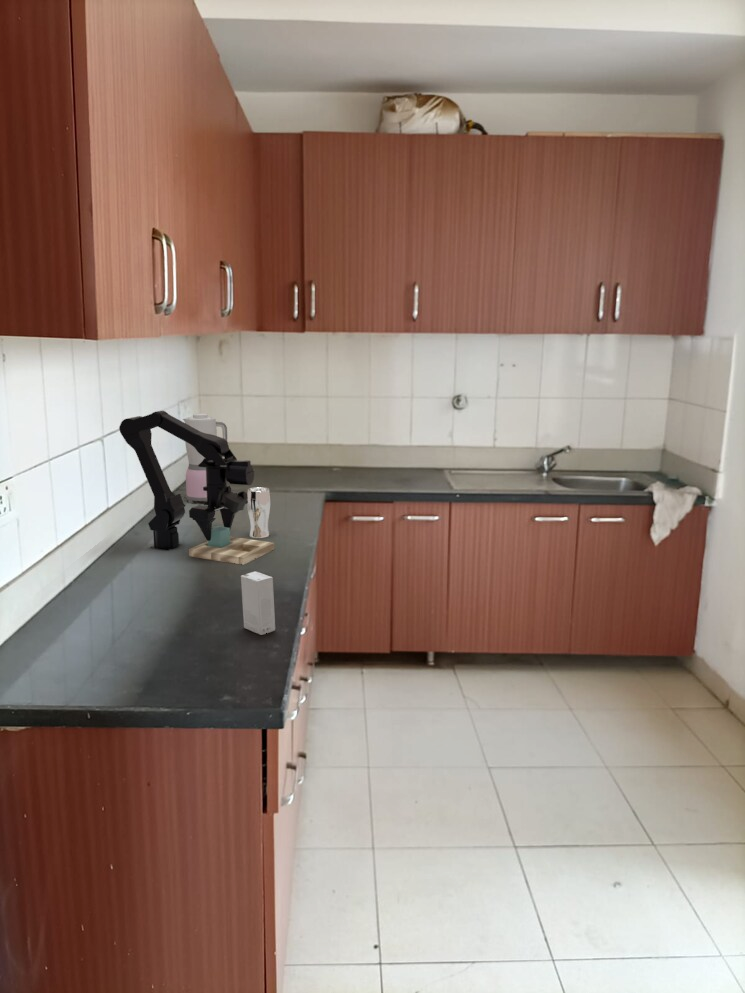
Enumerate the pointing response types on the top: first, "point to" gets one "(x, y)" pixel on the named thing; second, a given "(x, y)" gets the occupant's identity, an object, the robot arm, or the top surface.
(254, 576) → the skincare box
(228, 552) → the pocket board
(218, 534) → the teal block
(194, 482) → the blender
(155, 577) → the top surface
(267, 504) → the beer glass
